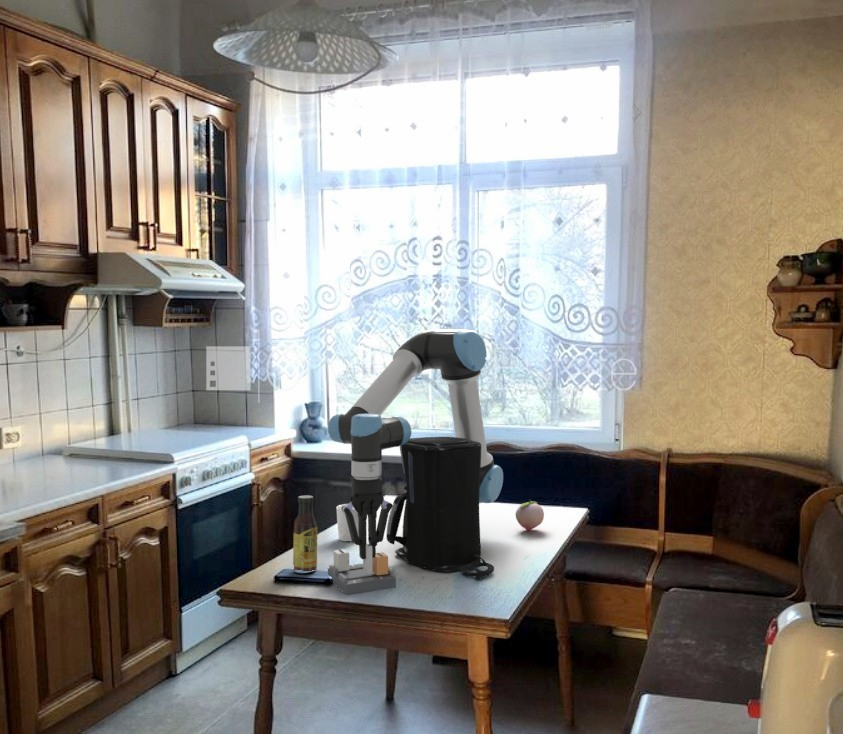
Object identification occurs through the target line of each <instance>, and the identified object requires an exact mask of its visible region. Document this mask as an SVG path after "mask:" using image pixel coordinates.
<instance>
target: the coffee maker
mask: <svg viewBox="0 0 843 734" xmlns="http://www.w3.org/2000/svg"><path fill="white" fill-rule="evenodd" d="M481 446H482V445H481V443H480V442H476V441H471V440H469V439H464V438H457V437H456V436H425V437H412V438H411V437H410V439H409V441H408V442H407V443H405V444H403V445H400V446H399V451H400V452H399V453H400V459H401V464H402V469H403V474H404V475H405V479H406V480H405V481H406V482H405V483H406V485H405V486H404V487H403V490H405V491H406V492H403V493H401V494H399V495H397V496H396V497H395V499H394V500H393V502H392V503H393V504H392V508H391V510H390V511H389V514H388V519H387V524H386V534H385V535H386V537H385V538H386V540H387V542H388V543H390V544H391V545H395V542H397V543H399V544H401V545H402V547H400V548H397V549H396V550H394V553H395V554H396V555H397V556H398V557H401V558H402V559H404V560H406V563H407V564H409V565H414V566H418V567H421V568H423V569H424V568H425V569H426V570H432V571H436V572H444V573H451V572H457V571H461V573H462V574H463V576H468V577H474V578H475V580H478V581H480V580H481V579H483V578H484V577H487V576H489V575H490V574H491V573H494V572H495V566H494V565H493V564H492V563H489V562H487V561H486V560H485V559H484V558H483V557H482V553H481V551H482V550H481V549H482V548H481V547H482V545H481V527H480V525H481V524H480V520H481V519H480V503H479V494H480V469H481ZM403 510H404V511H403ZM402 514H403V519H402V536H398V535H397V534H398V530H399V527H400V522H401V518H402ZM480 567H487V568H486V569H485V570H482V569H479V568H480ZM475 568H476V569H475ZM472 569H475V571H470V570H472Z"/></svg>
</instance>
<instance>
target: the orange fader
mask: <svg viewBox="0 0 843 734" xmlns="http://www.w3.org/2000/svg"><path fill="white" fill-rule="evenodd" d="M388 567H389V555H387V554H386V553H385V552H376V556H375V558H372V572H373V573H375V574H376V575H384V574H388Z"/></svg>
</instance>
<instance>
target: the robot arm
mask: <svg viewBox="0 0 843 734" xmlns="http://www.w3.org/2000/svg"><path fill="white" fill-rule="evenodd" d="M487 355H488V354H487V347H486V344H485V342H484V339H483V338H482V336H481V335H480V334H479V333H478V332H477V331H475V330H471V329H465V328H463V329H462V328H458V329H427V330H424V331H422V332H419V333H417V334H415V335H414V336H412V337H411V338H409V339H408V340H406V341H405V342H404V343H403V344H401V346H400V347H399V348H398V349H397V350H396V351H395V352H394V353H393V356H392V361H390V363H388V365H387V366H386V368H385V369H384V370H383V371H382V372H381V373H380V374H379V375H378V377H376V379H375V380H374V381H373V382H372V383H371V384H370V386H369V387H368V388H367V389H366V390H365V391H364V393H363V394H362V395H361V396H360V397H359V398H358V399H357V401H355V403H354V404H353V405H352V406H351V407H350V408H349V409H348V411H347V412H346V413H345V414H343V413H340V414H335V415H333V416H332V417H330V419H329V421H328V425H327V433H328V435H329V437H330V438H329V439H331V440H332V441H333V442H336V443H340V444H344V445H345V444H347V445H351V457H350V458H351V465H350V466H351V473H350V474H351V476H352V478H351V497H350V500H349V503H347V504H348V505H346V506H342V508H341V509H342V511H343V513H344V514H345V516H346V520H347V524H348V528H349V532H350V536H351V540H352V542H351V543H353V544H355V545H356V546H358V547H359V549H358V550H359V554H358V555H359V558H360V559H361V560H362V564H363V570H364V571H365V572H366V573H370V572H372V558H375V556H376V553H377V551H376V549H377V546H378V544H379V543H382V542H383V540H384V538H385V532H386V529H387V524H388V519H389V515H390V511H391V508H392V505H393V504H392V503H391V502H389V501H386V499H384V498H385V497H384V496H383V478H382V477H381V476H382V474H383V461H382V459H383V457H382V456H383V455H382V453H383V450H387V449H392V448H398V447H400V445H403V444H405V443H407V442H408V441H409V439H410V438H411V436H412V427H411V424H410V422H409V421H408V420H407V419H406V418H404V417H402V416H391V417H382V414H384V412H385V411H386V410H387V408H389V406H390V405H391V404H392V403H393V402H394V400H395V399H396V398H398V396H399V394H400V393H401V391H403V389H404V388H405V387H406V386H407V385H408V383H409V382H410V381H411V380H412V379H413V378H416V377H419V375H421V373H422V372H424V371H426V370H439V371H440V376H441V379H442V380H444V381H445V382H446V383H447V388H448V392H449V393H448V394H449V399H450V400H449V401H450V405H451V414H452V419H453V420H452V421H453V426H454V433H455V437H457V438H464V439H469V440H471V441H476V442H480V443H481V445H482V446H481V469H480V494H479V504H491V503H493V502H495V501H496V500H497V499H498V497H499V495H500V493H501V490H502V487H503V483H504V472H503V469H502V468H501V466H499V465H497V464H494V463H495V462H494V458H493V455H492V454H491V453H490V452H488V450H487V443H486V442H487V441H486V435H485V429H484V422H483V415H482V406H481V400H480V393H479V386H478V377H479V376H480V375H481V374H482V371H481V370H482V369H483V368H484V367H485V365H486V362H487V359H486V358H487ZM353 507H354V509H355V510H356V511H357V513H358V530H359V537H358V533H357V529H356V525H355V521H354V517H353V514H352V512H353V509H352V508H353ZM380 507H381V509H380ZM379 509H380V512H379V517H377V515H378V510H379ZM377 518H378V522H377ZM367 531H368V533H367ZM367 539H368V542H367Z"/></svg>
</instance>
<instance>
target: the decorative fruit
mask: <svg viewBox="0 0 843 734" xmlns="http://www.w3.org/2000/svg"><path fill="white" fill-rule="evenodd" d="M544 517H545V512H544V509H543V508H542V505H540V504H539V503H538V502H537V501H535V500H534V501H532V500H531V499H530V498H529V499H528V502H524V503H521V504H520V505H519V506H518V507H517V509H516V511H515V519H516V521H517V523H518V524H519V526H520V527H522V528H523V529H524V530H526V531H529V532H530V531H532V530H533V529H535V528H537V527H539V526H540V525H541V524H542V523H543V521H544Z"/></svg>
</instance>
